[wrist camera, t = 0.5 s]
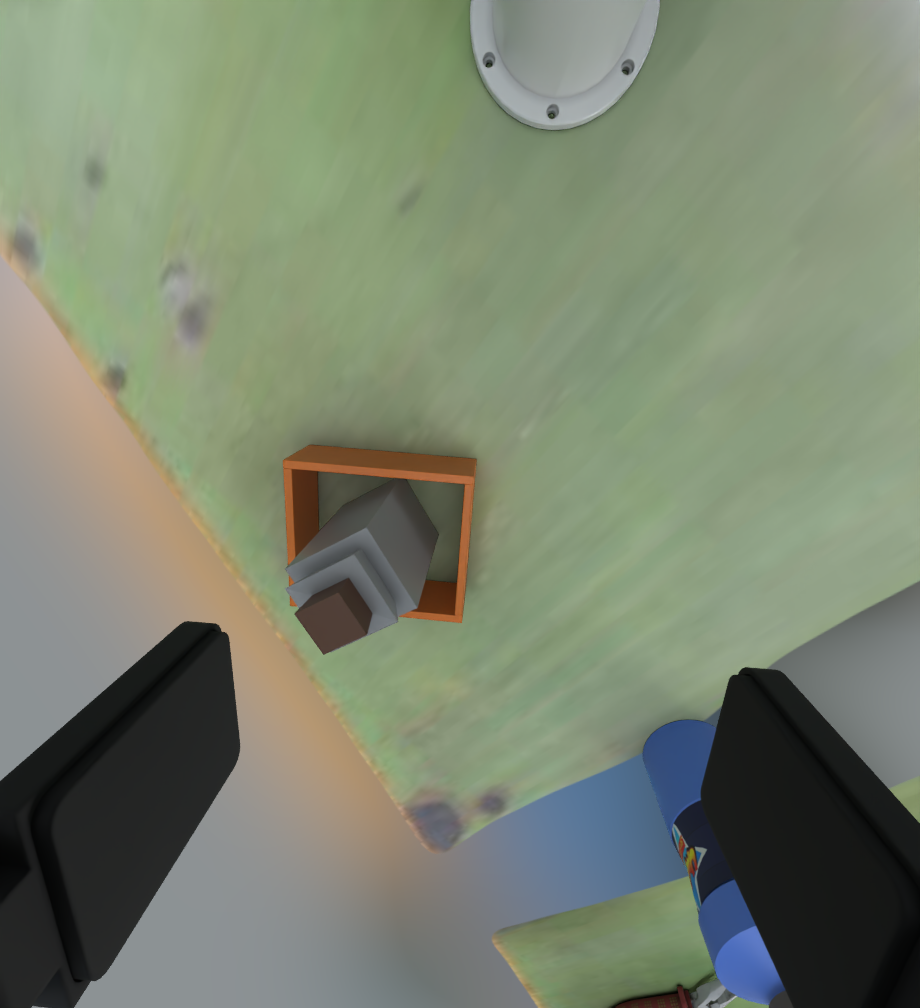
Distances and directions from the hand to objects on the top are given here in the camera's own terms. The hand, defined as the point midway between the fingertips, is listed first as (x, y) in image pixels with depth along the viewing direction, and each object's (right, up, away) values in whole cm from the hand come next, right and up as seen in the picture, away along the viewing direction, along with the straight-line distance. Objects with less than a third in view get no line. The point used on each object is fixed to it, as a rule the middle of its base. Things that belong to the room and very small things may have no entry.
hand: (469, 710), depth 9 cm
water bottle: (+24, -23, +44) cm, 55 cm away
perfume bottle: (-7, +2, +38) cm, 38 cm away
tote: (-7, +2, +37) cm, 38 cm away
